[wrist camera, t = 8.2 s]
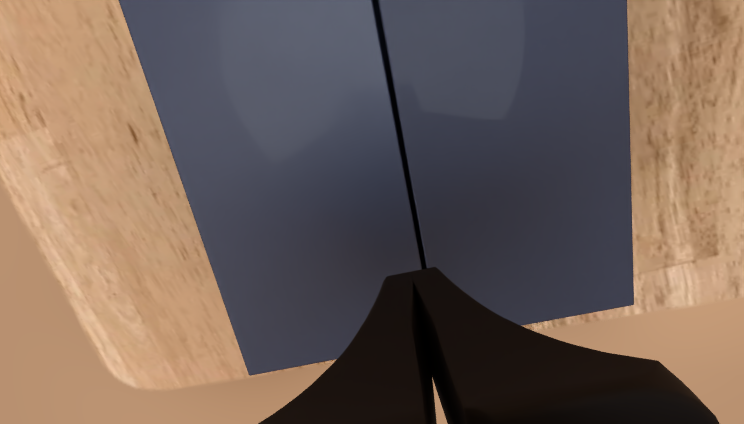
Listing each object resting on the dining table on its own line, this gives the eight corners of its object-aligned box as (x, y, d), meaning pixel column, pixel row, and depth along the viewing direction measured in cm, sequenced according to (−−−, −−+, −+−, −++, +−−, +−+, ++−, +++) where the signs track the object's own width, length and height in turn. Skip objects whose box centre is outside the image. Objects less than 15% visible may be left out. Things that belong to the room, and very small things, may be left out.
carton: (552, 225, 22) (637, 306, 15) (281, 277, 23) (246, 378, 16) (525, -90, 18) (627, -172, 11) (194, -15, 19) (97, -50, 12)
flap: (433, 334, 16) (435, 340, 16) (251, 368, 16) (248, 376, 16) (352, -101, 12) (352, -106, 12) (109, -46, 12) (100, -48, 12)
